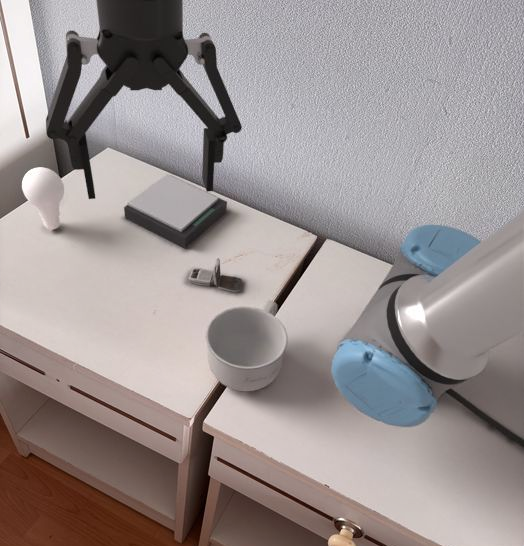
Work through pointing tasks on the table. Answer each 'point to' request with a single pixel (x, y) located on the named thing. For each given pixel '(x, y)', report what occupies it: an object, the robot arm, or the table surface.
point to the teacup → (246, 346)
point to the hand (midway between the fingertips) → (151, 188)
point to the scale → (175, 210)
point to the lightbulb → (44, 194)
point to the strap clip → (214, 278)
